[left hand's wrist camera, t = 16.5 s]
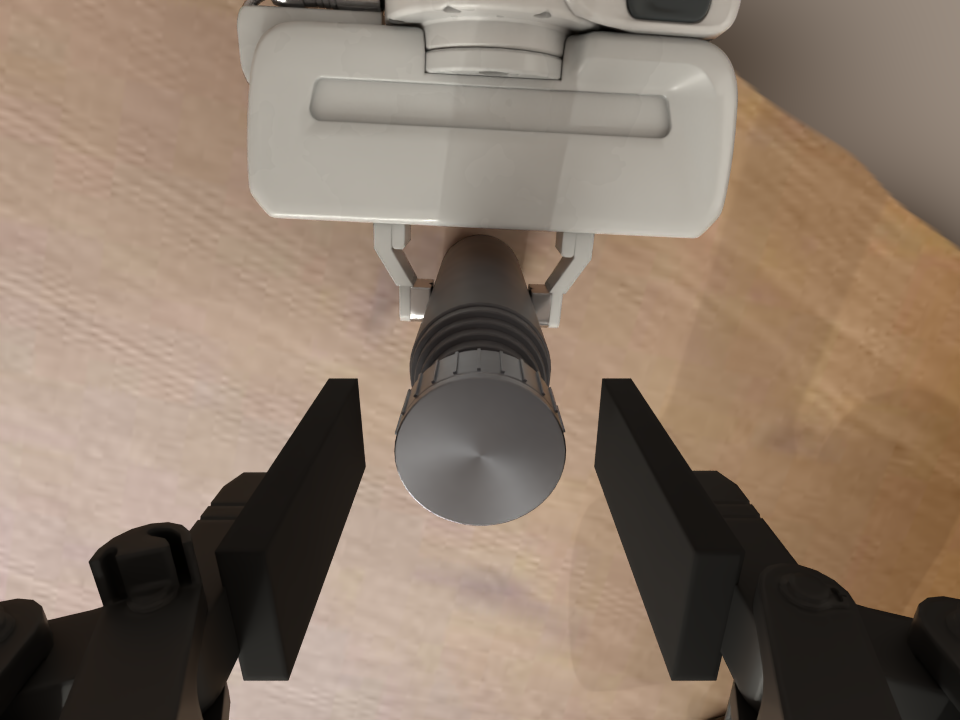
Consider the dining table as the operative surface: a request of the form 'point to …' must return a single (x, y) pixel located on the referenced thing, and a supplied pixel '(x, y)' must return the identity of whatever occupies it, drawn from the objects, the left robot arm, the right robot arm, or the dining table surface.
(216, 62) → the dining table surface
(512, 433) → the cap
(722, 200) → the right robot arm
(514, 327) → the bottle
